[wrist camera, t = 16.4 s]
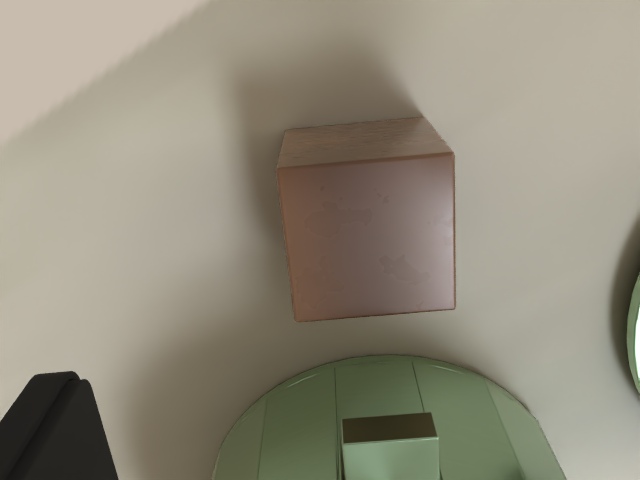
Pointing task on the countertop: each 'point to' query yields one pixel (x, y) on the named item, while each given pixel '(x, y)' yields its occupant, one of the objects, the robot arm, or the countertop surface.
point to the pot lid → (634, 334)
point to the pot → (387, 427)
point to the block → (368, 219)
